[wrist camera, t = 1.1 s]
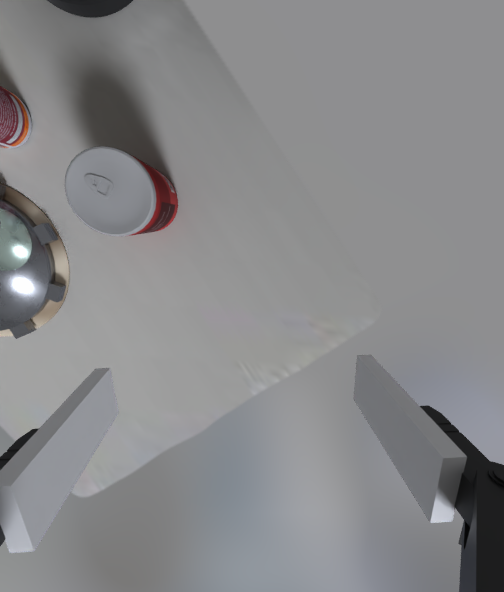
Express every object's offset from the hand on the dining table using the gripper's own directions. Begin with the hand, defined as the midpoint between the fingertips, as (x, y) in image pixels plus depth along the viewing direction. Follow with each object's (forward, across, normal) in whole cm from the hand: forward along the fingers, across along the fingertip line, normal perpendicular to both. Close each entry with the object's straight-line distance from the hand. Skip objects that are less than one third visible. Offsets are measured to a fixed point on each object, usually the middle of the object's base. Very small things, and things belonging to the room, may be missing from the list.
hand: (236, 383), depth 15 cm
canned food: (+25, -11, +11) cm, 30 cm away
